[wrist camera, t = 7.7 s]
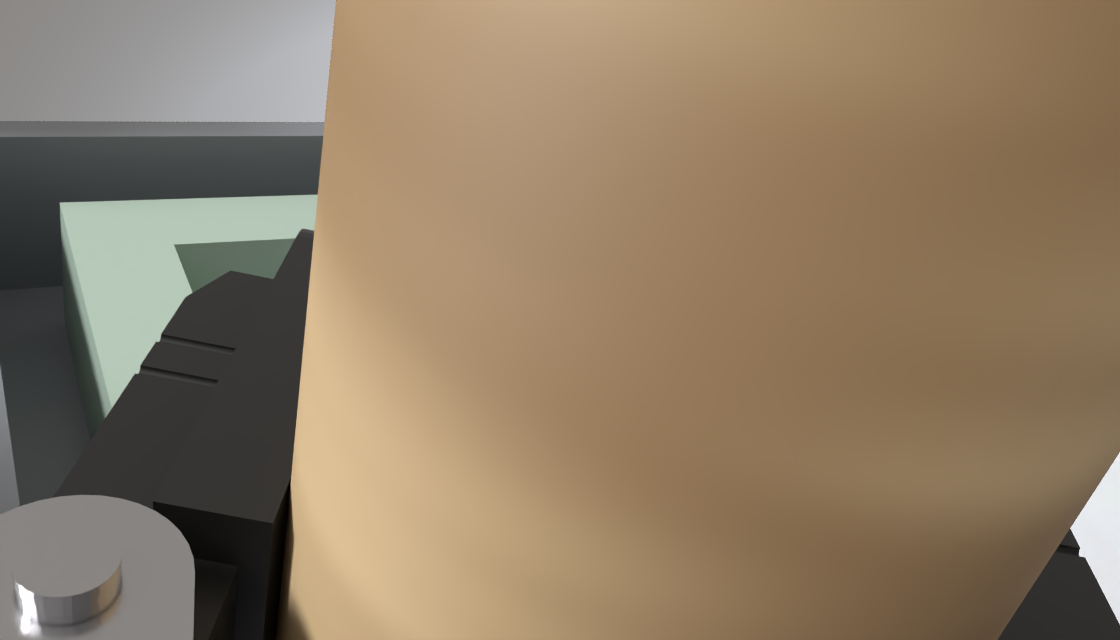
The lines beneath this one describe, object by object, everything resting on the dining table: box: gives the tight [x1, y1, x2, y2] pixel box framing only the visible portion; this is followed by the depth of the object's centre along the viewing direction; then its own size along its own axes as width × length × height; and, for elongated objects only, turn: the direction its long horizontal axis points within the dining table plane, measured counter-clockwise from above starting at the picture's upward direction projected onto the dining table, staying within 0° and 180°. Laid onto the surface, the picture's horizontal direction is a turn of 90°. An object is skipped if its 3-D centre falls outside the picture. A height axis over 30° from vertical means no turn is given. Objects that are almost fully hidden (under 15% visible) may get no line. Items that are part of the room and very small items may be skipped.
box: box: [0, 121, 325, 514], centre depth 28 cm, size 18×18×6 cm
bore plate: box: [60, 195, 318, 439], centre depth 28 cm, size 12×12×4 cm
